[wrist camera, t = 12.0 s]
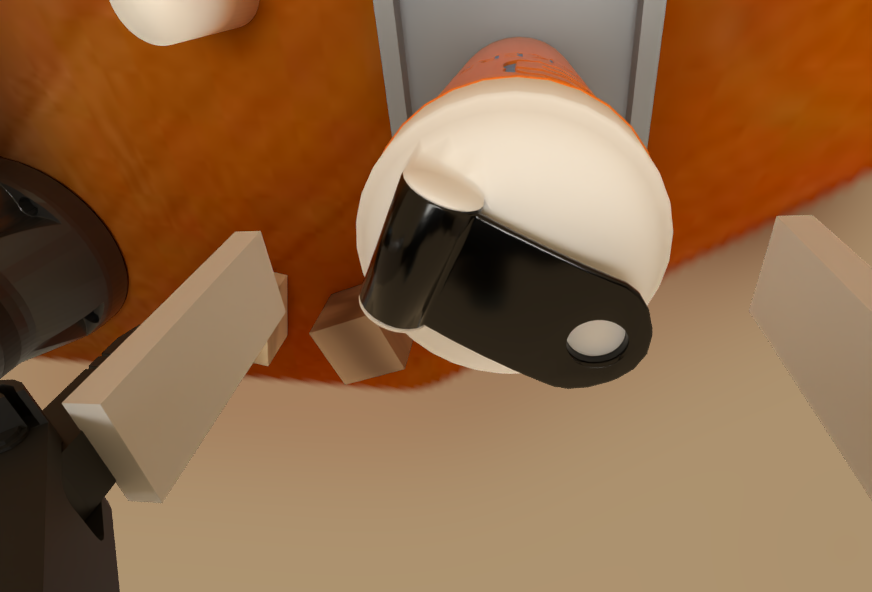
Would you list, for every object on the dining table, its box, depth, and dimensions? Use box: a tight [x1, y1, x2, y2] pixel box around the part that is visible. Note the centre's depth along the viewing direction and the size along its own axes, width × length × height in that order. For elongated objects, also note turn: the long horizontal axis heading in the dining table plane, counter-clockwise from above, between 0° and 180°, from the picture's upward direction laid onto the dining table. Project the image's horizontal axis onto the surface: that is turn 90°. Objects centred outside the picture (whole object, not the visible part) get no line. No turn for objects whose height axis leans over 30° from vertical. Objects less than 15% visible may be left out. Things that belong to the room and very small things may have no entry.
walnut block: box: [309, 284, 413, 385], centre depth 38 cm, size 5×5×5 cm
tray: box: [373, 0, 667, 149], centre depth 28 cm, size 14×14×2 cm
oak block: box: [253, 272, 288, 366], centre depth 39 cm, size 4×6×4 cm, turn 170°
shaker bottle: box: [356, 37, 673, 389], centre depth 21 cm, size 9×9×20 cm
